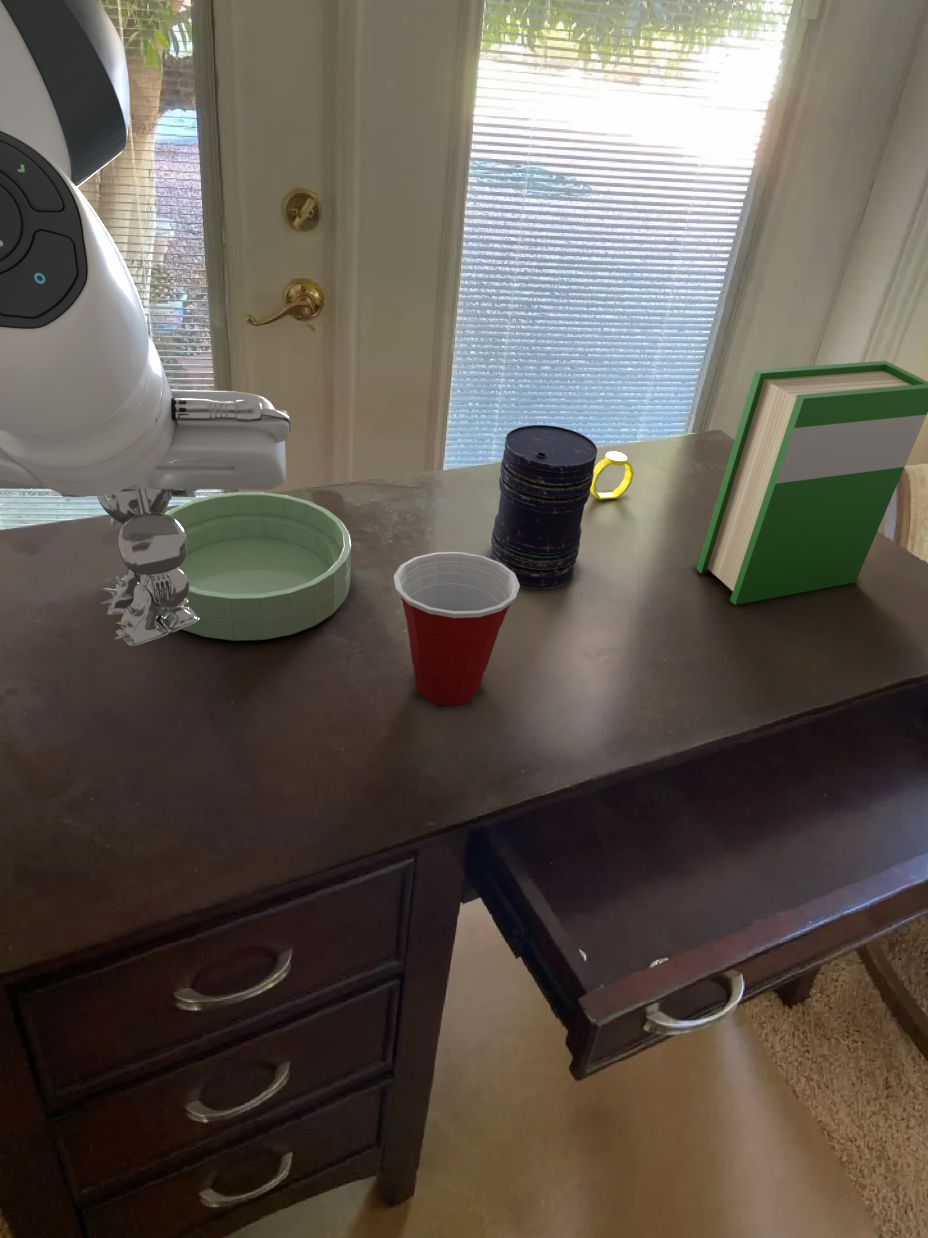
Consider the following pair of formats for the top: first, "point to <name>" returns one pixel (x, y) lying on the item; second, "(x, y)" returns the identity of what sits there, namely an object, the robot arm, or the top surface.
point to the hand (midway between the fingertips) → (130, 485)
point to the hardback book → (811, 476)
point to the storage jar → (542, 503)
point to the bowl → (262, 564)
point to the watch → (609, 459)
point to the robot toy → (148, 566)
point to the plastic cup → (453, 619)
